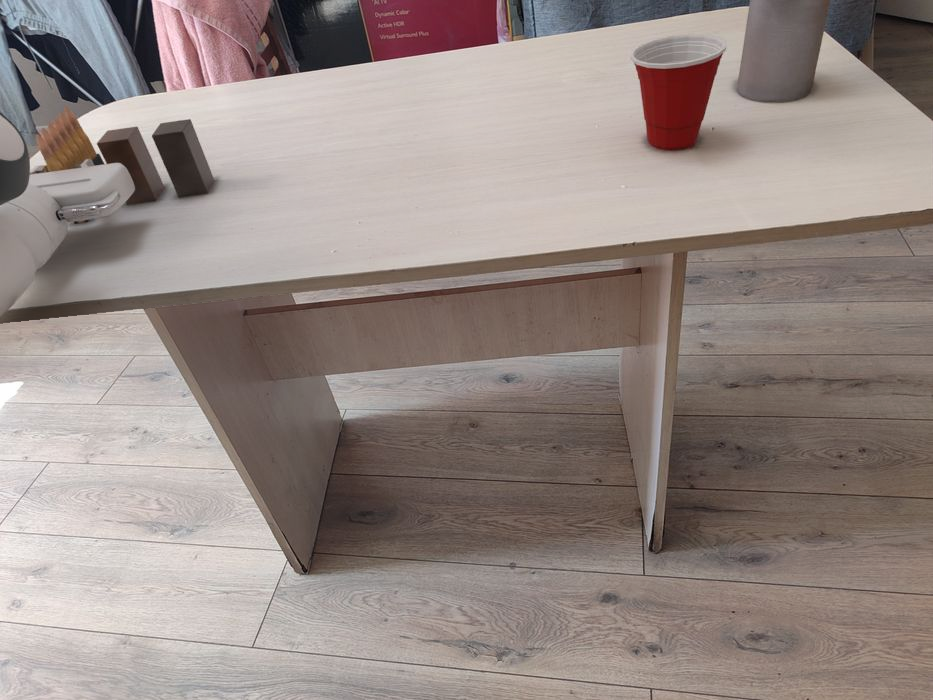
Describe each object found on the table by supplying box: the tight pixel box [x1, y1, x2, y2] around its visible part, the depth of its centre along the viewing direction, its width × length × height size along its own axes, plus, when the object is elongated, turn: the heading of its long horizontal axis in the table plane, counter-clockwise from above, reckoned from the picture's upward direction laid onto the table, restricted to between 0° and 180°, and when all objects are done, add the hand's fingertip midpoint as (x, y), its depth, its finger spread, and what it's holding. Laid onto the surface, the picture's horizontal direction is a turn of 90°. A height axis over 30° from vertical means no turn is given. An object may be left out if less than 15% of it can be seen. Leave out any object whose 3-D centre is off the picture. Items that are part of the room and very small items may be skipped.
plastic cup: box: [629, 33, 728, 152], centre depth 82 cm, size 11×11×12 cm
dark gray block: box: [151, 118, 215, 199], centre depth 88 cm, size 4×4×9 cm
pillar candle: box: [736, 0, 832, 103], centre depth 90 cm, size 10×10×15 cm
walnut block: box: [96, 126, 165, 206], centre depth 89 cm, size 4×4×9 cm
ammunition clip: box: [35, 105, 105, 224], centre depth 88 cm, size 11×2×12 cm, turn 4°
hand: (67, 167), depth 86 cm, fingers open, 4 cm apart
